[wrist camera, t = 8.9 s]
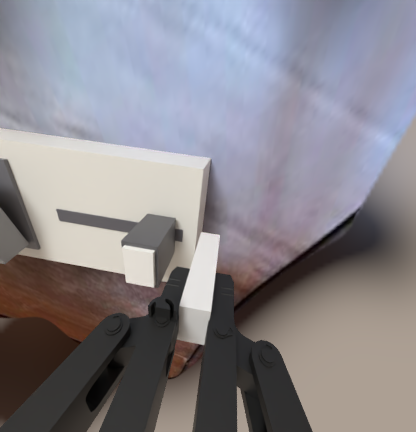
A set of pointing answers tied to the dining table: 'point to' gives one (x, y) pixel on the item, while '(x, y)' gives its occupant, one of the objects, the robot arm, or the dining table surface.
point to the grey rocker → (9, 239)
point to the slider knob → (149, 250)
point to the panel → (97, 197)
